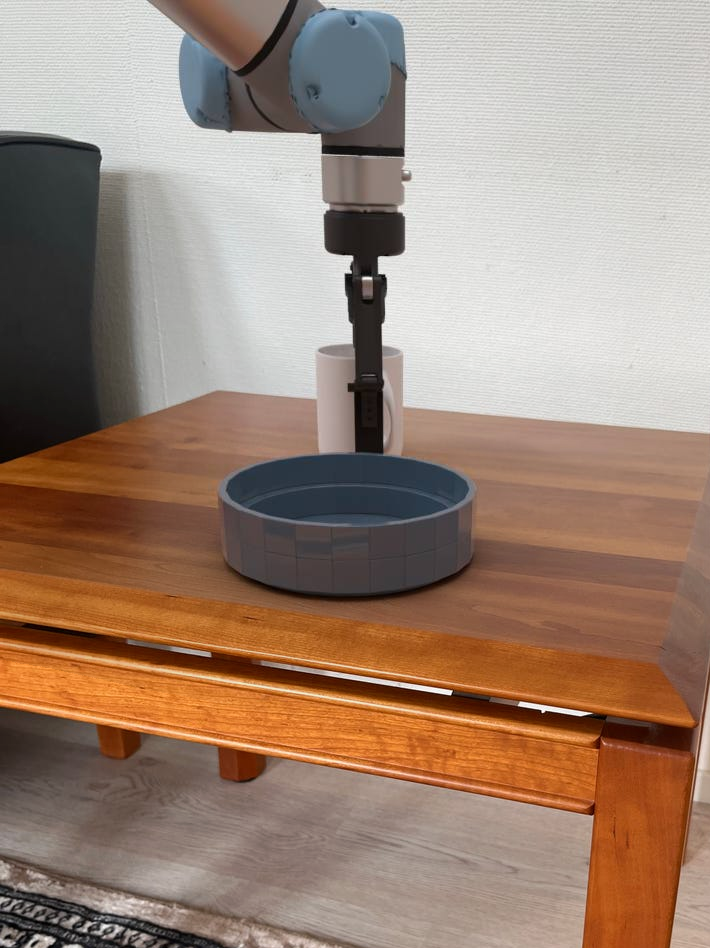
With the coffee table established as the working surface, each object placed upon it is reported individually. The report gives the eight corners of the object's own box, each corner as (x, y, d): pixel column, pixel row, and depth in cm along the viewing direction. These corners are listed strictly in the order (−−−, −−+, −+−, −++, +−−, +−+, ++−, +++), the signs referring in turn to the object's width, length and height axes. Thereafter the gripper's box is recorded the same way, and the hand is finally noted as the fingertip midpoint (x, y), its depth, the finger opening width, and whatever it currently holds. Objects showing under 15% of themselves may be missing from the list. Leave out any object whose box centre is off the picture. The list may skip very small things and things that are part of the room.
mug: (352, 481, 97) (350, 366, 93) (306, 451, 106) (302, 345, 102) (432, 471, 101) (434, 361, 97) (381, 443, 110) (380, 341, 106)
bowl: (210, 603, 69) (203, 526, 67) (235, 515, 87) (231, 451, 84) (488, 599, 72) (492, 525, 70) (459, 514, 89) (461, 452, 87)
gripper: (413, 217, 84) (412, 476, 93) (398, 203, 105) (398, 416, 114) (321, 214, 83) (329, 476, 92) (324, 201, 104) (330, 415, 113)
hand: (367, 443), depth 103 cm, fingers closed on mug, 11 cm apart
